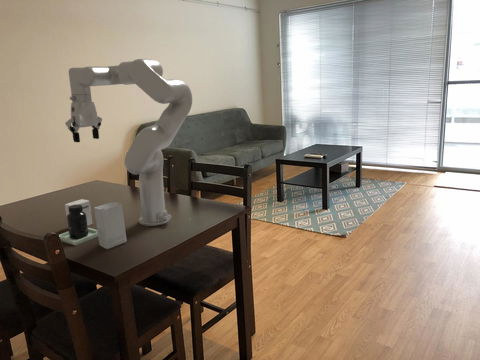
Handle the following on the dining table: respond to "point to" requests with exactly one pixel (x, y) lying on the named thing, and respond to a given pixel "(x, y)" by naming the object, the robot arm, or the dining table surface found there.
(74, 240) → the tray
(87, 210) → the unit
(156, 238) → the dining table surface
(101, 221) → the skincare box
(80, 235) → the supplement bottle
